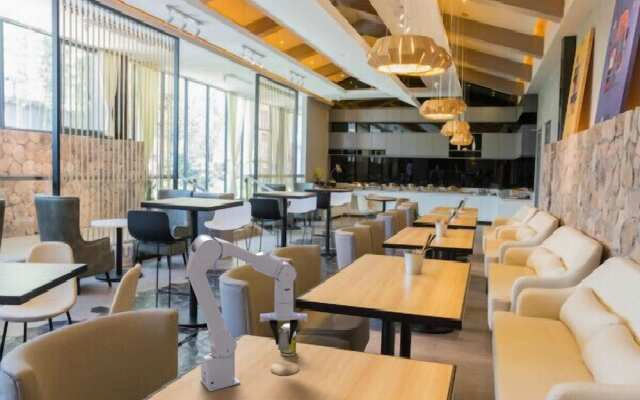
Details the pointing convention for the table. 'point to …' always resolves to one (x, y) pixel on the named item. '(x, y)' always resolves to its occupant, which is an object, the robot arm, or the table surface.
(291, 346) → the supplement bottle
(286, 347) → the plug
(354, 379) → the table surface
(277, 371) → the coaster
